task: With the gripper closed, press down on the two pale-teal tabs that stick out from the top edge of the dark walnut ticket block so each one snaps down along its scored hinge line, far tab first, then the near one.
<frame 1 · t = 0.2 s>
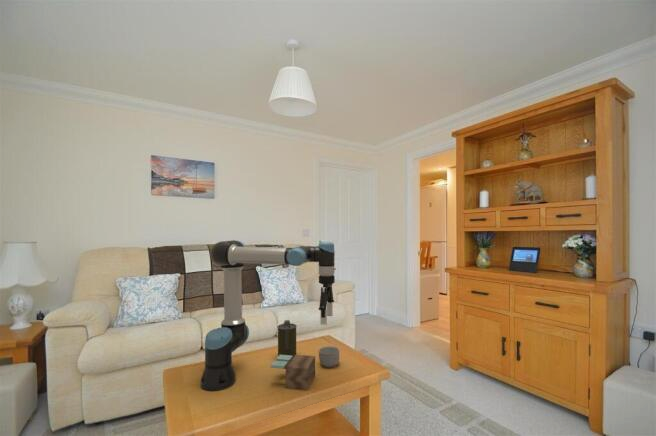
hand: (326, 320, 150), 27 cm above the table, fingers open, 13 cm apart
stub far: (285, 358, 152), point 9 cm above the table, hinge at 0.0°
teacup: (329, 364, 166), on the table
canister: (287, 358, 173), on the table
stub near: (279, 364, 145), point 9 cm above the table, hinge at 0.0°
ticket block: (301, 381, 147), on the table
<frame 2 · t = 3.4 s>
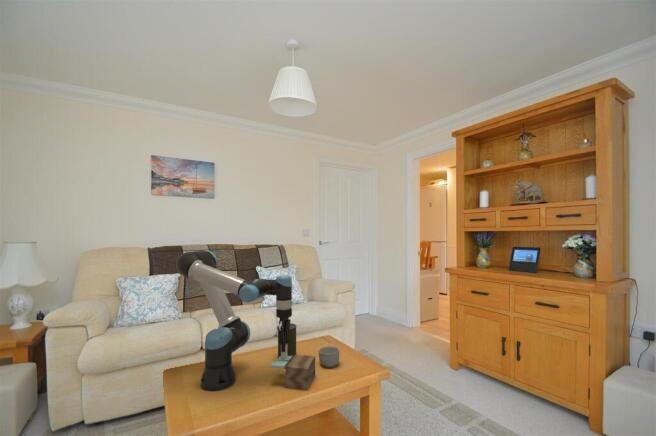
hand: (284, 357, 152), 9 cm above the table, fingers closed
stub far: (285, 359, 152), point 8 cm above the table, hinge at 7.4°, touching gripper
everything else where it was.
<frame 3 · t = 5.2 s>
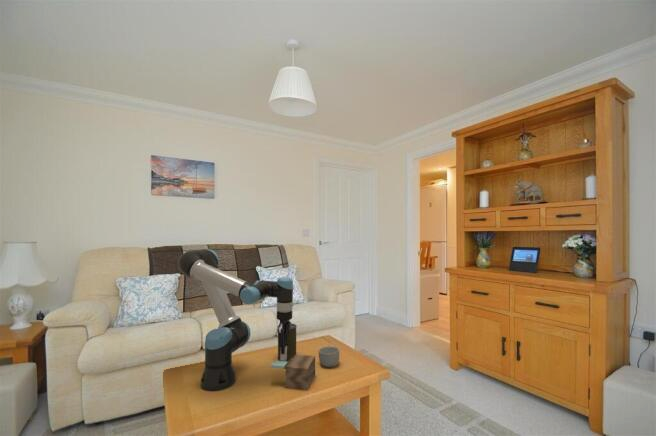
hand: (283, 359, 152), 8 cm above the table, fingers closed
stub far: (290, 367, 151), point 5 cm above the table, hinge at 84.6°
everything else where it was.
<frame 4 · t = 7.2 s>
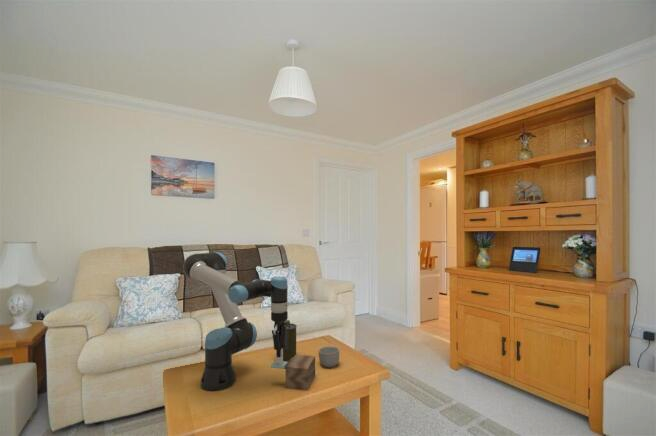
hand: (279, 363, 145), 9 cm above the table, fingers closed
stub far: (290, 367, 151), point 5 cm above the table, hinge at 84.9°
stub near: (279, 364, 145), point 9 cm above the table, hinge at 0.2°, touching gripper
everything else where it was.
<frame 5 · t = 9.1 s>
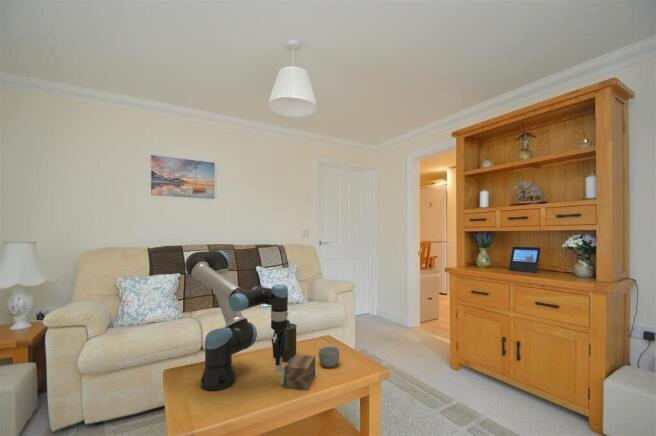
hand: (278, 371, 145), 6 cm above the table, fingers closed
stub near: (285, 374, 144), point 5 cm above the table, hinge at 83.4°
everything else where it was.
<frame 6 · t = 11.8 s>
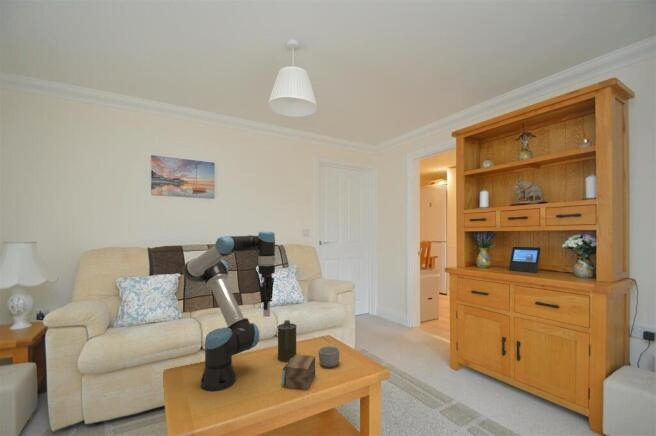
hand: (266, 316, 146), 30 cm above the table, fingers closed
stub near: (285, 374, 144), point 5 cm above the table, hinge at 83.8°
everything else where it was.
at the end: stub far at +85° (first picture: +0°); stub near at +84° (first picture: +0°) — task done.
